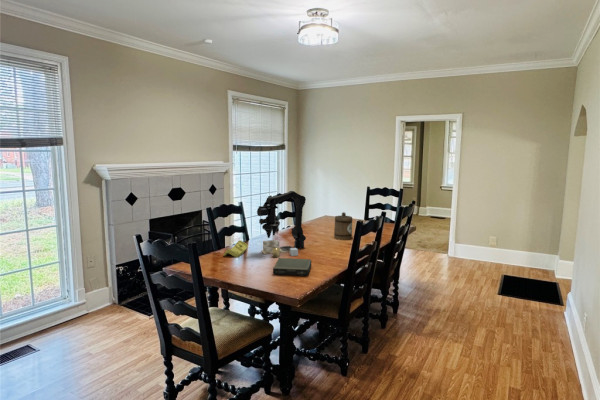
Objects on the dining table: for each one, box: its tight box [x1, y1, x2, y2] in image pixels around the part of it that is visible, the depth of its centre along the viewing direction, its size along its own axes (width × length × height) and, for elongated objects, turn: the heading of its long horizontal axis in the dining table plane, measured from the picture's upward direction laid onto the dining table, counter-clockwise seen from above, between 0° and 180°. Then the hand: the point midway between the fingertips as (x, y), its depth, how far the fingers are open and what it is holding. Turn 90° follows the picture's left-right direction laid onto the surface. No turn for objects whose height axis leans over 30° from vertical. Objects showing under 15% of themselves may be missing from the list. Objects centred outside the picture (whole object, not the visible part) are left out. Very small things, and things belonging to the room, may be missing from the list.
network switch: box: [272, 257, 312, 277], centre depth 227 cm, size 23×23×5 cm
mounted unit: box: [261, 239, 294, 255], centre depth 269 cm, size 23×8×8 cm, turn 111°
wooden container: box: [333, 211, 353, 241], centre depth 313 cm, size 15×15×22 cm
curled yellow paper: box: [223, 240, 248, 258], centre depth 264 cm, size 20×7×10 cm
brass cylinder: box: [272, 247, 281, 259], centre depth 257 cm, size 5×5×6 cm
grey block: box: [289, 247, 299, 257], centre depth 261 cm, size 4×4×4 cm
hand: (271, 236), depth 265 cm, fingers open, 9 cm apart
